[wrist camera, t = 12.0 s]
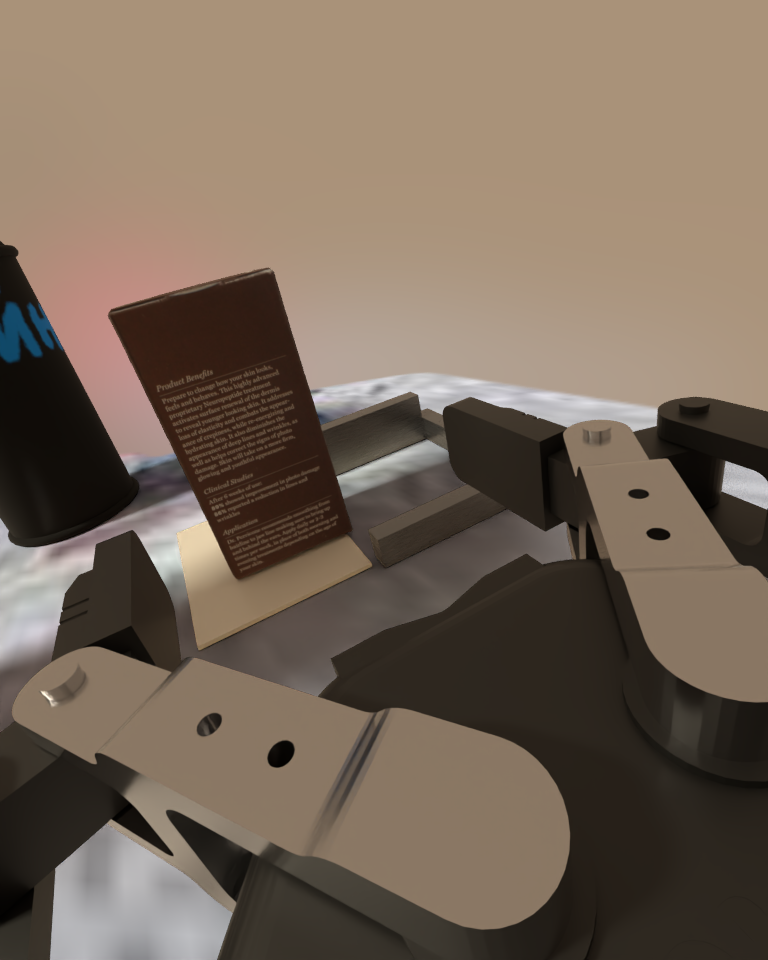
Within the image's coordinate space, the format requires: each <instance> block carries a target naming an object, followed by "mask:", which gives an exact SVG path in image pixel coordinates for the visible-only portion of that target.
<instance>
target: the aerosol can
mask: <svg viewBox="0 0 768 960" xmlns="http://www.w3.org/2000/svg"><path fill="white" fill-rule="evenodd" d="M16 256H18V250H17V249H16V248H15V247H13V246H10V245H4V244H3V243H2V242H1V241H0V518H1V520H2V521H3V523H4V524H5V526H6V527H7V528H8V530H9V533H8V537H9V540H10V541H11V542H12V543H14V544H15V545H18V546H25V547H28V546H39V545H45V544H50V543H53V542H57V541H60V540H63V539H66V538H69V537H72V536H75V535H77V534H79V533H82V532H84V531H86V530H88V529H90V528H92V527H94V526H96V525H98V524H100V523H102V522H104V521H105V520H107V519H109V518H110V517H112V516H113V515H115V514H116V513H118V512H119V511H121V510H122V509H123V508H124V507H125V506H127V505H128V504H129V503H130V502H131V501H132V500H133V499H134V497H135V496H136V494H137V492H138V489H139V484H138V482H137V480H136V479H134V478H133V477H130V475H129V473H128V471H127V469H126V467H125V465H124V464H123V462H122V460H121V458H120V456H119V454H118V452H117V450H116V448H115V446H114V445H113V442H112V441H111V439H110V437H109V435H108V433H107V431H106V429H105V428H104V425H103V424H102V422H101V420H100V418H99V416H98V414H97V412H96V410H95V408H94V406H93V404H92V402H91V401H90V399H89V397H88V395H87V393H86V391H85V389H84V387H83V385H82V383H81V381H80V379H79V378H78V376H77V374H76V372H75V370H74V368H73V366H72V364H71V363H70V360H69V358H68V357H67V355H66V353H65V351H64V349H63V347H62V345H61V343H60V341H59V339H58V337H57V336H56V334H55V332H54V330H53V328H52V326H51V324H50V322H49V320H48V318H47V316H46V315H45V313H44V311H43V309H42V307H41V305H40V303H39V301H38V299H37V297H36V295H35V294H34V292H33V290H32V288H31V286H30V284H29V282H28V280H27V278H26V276H25V274H24V273H23V271H22V269H21V267H20V265H19V263H18V261H17V259H16Z"/></svg>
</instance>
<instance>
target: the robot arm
mask: <svg viewBox="0 0 768 960" xmlns="http://www.w3.org/2000/svg"><path fill="white" fill-rule="evenodd" d="M443 422H444V428H445V434H446V440H447V446H448V452H449V458H450V463H451V466H452V468H453V470H454V472H455V474H456V475H457V477H458V478H459V479H460V480H462V481H463V482H465V483H466V484H468V485H470V486H471V487H473V488H475V489H476V490H478V491H480V492H481V493H483V494H484V495H486V496H488V497H489V498H491V499H493V500H494V501H496V502H498V503H499V504H501V505H502V506H504V507H506V508H507V509H509V510H511V511H512V512H514V513H516V514H517V515H519V516H521V517H522V518H524V519H525V520H527V521H529V522H530V523H532V524H534V525H535V526H537V527H539V528H540V529H542V530H544V531H547V530H549V529H551V528H553V527H555V526H557V525H559V524H561V523H563V522H564V521H565V522H567V537H568V541H569V546H570V550H571V554H572V560H564V561H557V562H552V563H547V564H543V565H542V564H541V563H539V562H538V561H536V560H535V559H534V558H532V557H531V556H529V555H528V554H525V555H523V556H521V557H519V558H518V559H516V560H514V561H512V562H510V563H508V564H506V565H505V566H503V567H501V568H499V569H497V570H495V571H493V572H491V573H490V574H488V575H486V576H484V577H483V578H482V579H480V580H479V581H478V582H477V583H476V584H475V585H474V586H472V587H471V588H470V589H469V590H468V591H467V592H466V593H465V594H463V595H462V596H461V597H460V598H459V599H458V600H457V601H455V602H454V603H453V604H452V605H451V606H450V607H449V608H447V609H446V610H444V611H443V612H440V613H438V614H434V615H431V616H428V617H425V618H422V619H418V620H415V621H412V622H409V623H406V624H402V625H399V626H396V627H393V628H389V629H386V630H384V631H382V632H380V633H378V634H376V635H374V636H372V637H370V638H369V639H367V640H365V641H363V642H361V643H359V644H357V645H356V646H354V647H352V648H350V649H348V650H346V651H344V652H343V653H341V654H339V655H337V656H335V657H333V658H331V661H332V664H333V667H334V669H335V672H336V674H337V678H336V679H335V680H334V681H332V682H331V683H330V684H329V685H328V686H327V687H326V688H325V689H324V690H323V691H322V692H321V694H320V695H319V696H318V697H317V696H314V695H311V694H307V693H304V692H301V691H298V690H295V689H292V688H289V687H286V686H282V685H279V684H276V683H273V682H270V681H267V680H264V679H261V678H258V677H254V676H251V675H248V674H245V673H242V672H239V671H236V670H233V669H230V668H226V667H223V666H220V665H217V664H214V663H211V662H208V661H205V660H201V659H198V658H194V657H188V658H185V659H184V660H183V661H182V662H181V655H180V648H179V640H178V633H177V626H176V618H175V611H174V606H173V603H172V600H171V597H170V595H169V592H168V590H167V588H166V586H165V584H164V582H163V580H162V579H161V577H160V575H159V573H158V571H157V570H156V568H155V566H154V564H153V562H152V560H151V559H150V557H149V555H148V553H147V551H146V550H145V548H144V546H143V544H142V542H141V541H140V539H139V537H138V536H137V534H136V533H135V532H134V531H133V530H131V531H128V532H126V533H123V534H121V535H118V536H116V537H113V538H111V539H108V540H106V541H103V542H101V543H98V544H96V548H95V556H94V564H93V570H90V571H88V572H86V573H83V574H81V575H79V576H78V577H77V578H76V580H75V581H74V582H73V584H72V585H71V586H70V588H69V589H68V590H67V592H66V593H65V597H64V602H63V607H62V610H63V612H61V617H60V622H59V623H60V625H59V626H58V631H57V636H56V641H55V646H54V651H53V656H52V661H51V663H50V664H48V665H47V666H46V667H44V668H43V669H42V670H40V671H39V672H38V673H37V674H36V675H35V676H33V677H32V678H31V679H30V680H29V681H28V682H27V684H26V685H25V686H24V687H23V688H22V690H21V691H20V692H19V694H18V696H17V697H16V699H15V701H14V704H13V708H12V716H13V718H14V720H15V722H13V723H12V724H11V725H10V726H9V727H7V728H6V729H5V730H3V731H2V732H0V960H50V948H51V931H52V915H53V899H54V883H55V868H56V867H57V866H58V865H59V864H61V863H62V862H63V861H64V860H65V859H66V858H67V857H69V856H70V855H71V854H72V853H73V852H74V851H75V850H77V849H78V848H79V847H80V846H81V845H82V844H83V843H85V842H86V841H87V840H88V839H89V838H90V837H91V836H93V835H94V834H95V833H96V832H97V831H98V830H99V829H101V828H102V827H103V826H104V825H105V824H106V823H107V824H108V825H110V826H111V827H112V828H114V829H116V830H117V831H119V832H120V833H122V834H123V835H125V836H127V837H128V838H130V839H131V840H133V841H134V842H136V843H138V844H139V845H141V846H142V847H144V848H145V849H147V850H149V851H150V852H152V853H153V854H155V855H156V856H158V857H159V858H161V859H163V860H164V861H166V862H167V863H169V864H170V865H172V866H174V867H175V868H177V869H178V870H180V871H181V872H183V873H184V874H186V875H187V876H188V877H189V878H191V879H192V880H193V881H194V882H195V883H197V884H198V885H199V886H200V887H201V888H202V889H203V890H204V891H205V892H206V893H207V894H209V895H210V896H211V897H212V898H213V899H215V900H216V901H217V902H218V903H220V904H221V905H222V906H224V907H225V908H226V909H228V910H229V911H231V912H232V913H233V914H232V917H231V920H230V923H229V926H228V929H227V932H226V935H225V938H224V941H223V944H222V947H221V950H220V953H219V956H218V959H217V960H768V581H767V580H766V579H765V577H766V578H768V510H766V509H764V508H761V507H759V506H756V505H754V504H751V503H749V502H746V501H744V500H741V499H739V498H736V497H734V496H731V495H729V494H726V493H724V492H721V490H722V483H723V475H724V468H725V461H728V462H731V463H734V464H737V465H740V466H743V467H746V468H749V469H751V470H754V471H757V472H758V473H760V474H761V475H763V476H764V477H765V478H766V480H767V481H768V412H767V411H763V410H759V409H754V408H750V407H746V406H742V405H737V404H733V403H729V402H725V401H721V400H716V399H711V398H702V397H689V398H680V399H675V400H671V401H668V402H666V403H664V404H662V405H661V406H660V407H659V408H658V415H657V426H655V427H651V428H647V429H643V430H639V431H635V432H632V430H631V429H630V427H628V426H627V425H625V424H623V423H620V422H616V421H610V420H591V421H585V422H580V423H577V424H574V425H572V426H570V427H568V428H567V427H564V426H561V425H558V424H555V423H553V422H550V421H547V420H544V419H541V418H538V419H537V417H535V416H532V415H529V414H527V415H526V414H525V413H523V412H520V411H517V410H514V409H512V408H502V407H498V406H495V405H492V404H489V403H486V402H484V401H481V400H478V399H475V398H472V397H469V398H466V399H464V400H461V401H459V402H456V403H454V404H451V405H449V406H446V407H445V408H444V410H443ZM740 564H741V565H740ZM742 565H743V566H742Z"/></svg>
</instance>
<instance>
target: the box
mask: <svg viewBox="0 0 768 960" xmlns="http://www.w3.org/2000/svg"><path fill="white" fill-rule="evenodd" d="M108 317H109V319H110V321H111V323H112V325H113V327H114V329H115V331H116V333H117V335H118V337H119V338H120V341H121V343H122V345H123V347H124V349H125V351H126V353H127V355H128V358H129V360H130V362H131V363H132V365H133V367H134V370H135V372H136V374H137V376H138V378H139V380H140V382H141V384H142V386H143V388H144V390H145V393H146V395H147V397H148V399H149V401H150V403H151V405H152V407H153V409H154V411H155V413H156V415H157V417H158V419H159V421H160V423H161V425H162V428H163V430H164V432H165V434H166V436H167V438H168V439H169V441H170V443H171V446H172V448H173V450H174V453H175V454H176V456H177V458H178V461H179V463H180V465H181V466H182V468H183V471H184V473H185V475H186V477H187V479H188V481H189V483H190V485H191V487H192V490H193V492H194V494H195V496H196V498H197V500H198V502H199V504H200V506H201V509H202V511H203V513H204V515H205V517H206V519H207V521H208V524H209V526H210V528H211V530H212V532H213V534H214V536H215V538H216V541H217V542H218V545H219V547H220V549H221V552H222V554H223V556H224V558H225V560H226V562H227V564H228V566H229V568H230V570H231V572H232V574H233V576H234V577H235V578H236V579H237V580H239V579H241V578H244V577H246V576H248V575H250V574H252V573H254V572H257V571H259V570H261V569H263V568H266V567H268V566H270V565H273V564H275V563H277V562H280V561H282V560H284V559H287V558H289V557H291V556H293V555H295V554H298V553H300V552H303V551H305V550H307V549H310V548H312V547H314V546H316V545H319V544H321V543H323V542H326V541H328V540H330V539H333V538H335V537H338V536H340V535H343V534H345V533H348V532H351V531H352V530H353V528H352V526H351V522H350V519H349V516H348V513H347V510H346V506H345V503H344V499H343V496H342V493H341V489H340V487H339V484H338V480H337V477H336V474H335V470H334V467H333V464H332V460H331V457H330V454H329V451H328V447H327V444H326V441H325V438H324V434H323V431H322V428H321V425H320V421H319V418H318V415H317V412H316V409H315V405H314V402H313V399H312V395H311V392H310V389H309V386H308V383H307V380H306V376H305V374H304V371H303V367H302V364H301V361H300V357H299V354H298V351H297V348H296V344H295V341H294V338H293V335H292V331H291V328H290V325H289V322H288V317H287V315H286V312H285V309H284V305H283V301H282V298H281V295H280V291H279V288H278V284H277V282H276V278H275V274H274V272H273V270H271V269H270V268H264V269H258V270H253V271H249V272H246V273H241V274H237V275H234V276H229V277H225V278H221V279H218V280H214V281H210V282H206V283H202V284H199V285H195V286H191V287H187V288H184V289H180V290H176V291H173V292H169V293H165V294H162V295H158V296H155V297H152V298H148V299H144V300H140V301H137V302H133V303H130V304H127V305H123V306H120V307H116V308H114V309H111V311H110V312H109V314H108Z"/></svg>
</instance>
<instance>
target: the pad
mask: <svg viewBox="0 0 768 960" xmlns="http://www.w3.org/2000/svg"><path fill="white" fill-rule="evenodd" d="M177 539H178V544H179V550H180V555H181V561H182V566H183V572H184V577H185V583H186V588H187V594H188V599H189V605H190V610H191V616H192V621H193V627H194V632H195V638H196V643H197V647H198V649H199V650H201V649H203V648H205V647H207V646H210V645H212V644H214V643H216V642H218V641H220V640H222V639H224V638H226V637H228V636H230V635H232V634H234V633H236V632H238V631H240V630H242V629H245V628H247V627H249V626H251V625H253V624H255V623H257V622H259V621H261V620H263V619H265V618H267V617H269V616H271V615H273V614H275V613H277V612H280V611H282V610H284V609H286V608H288V607H290V606H292V605H294V604H296V603H298V602H300V601H302V600H304V599H306V598H308V597H310V596H312V595H315V594H317V593H319V592H321V591H323V590H325V589H327V588H329V587H331V586H333V585H335V584H337V583H339V582H341V581H343V580H345V579H347V578H350V577H352V576H354V575H356V574H358V573H360V572H362V571H364V570H366V569H368V568H370V567H372V563H371V562H370V561H369V559H368V558H367V557H366V556H365V555H364V554H363V552H362V551H361V550H360V549H359V548H358V546H357V545H356V544H355V543H354V542H353V541H352V539H351V538H350V537H349V536H348V535H347V533H345V534H343V535H340V536H338V537H335V538H333V539H330V540H328V541H326V542H323V543H321V544H319V545H316V546H314V547H312V548H310V549H307V550H305V551H303V552H300V553H298V554H295V555H293V556H291V557H289V558H287V559H284V560H282V561H280V562H277V563H275V564H273V565H270V566H268V567H266V568H263V569H261V570H259V571H257V572H254V573H252V574H250V575H248V576H246V577H244V578H241V579H239V580H237V579H236V578H235V577H234V576H233V574H232V572H231V570H230V568H229V566H228V564H227V562H226V560H225V558H224V556H223V554H222V552H221V549H220V547H219V545H218V542H217V541H216V538H215V536H214V534H213V532H212V530H211V528H210V526H209V524H208V521H206V522H203V523H201V524H198V525H196V526H193V527H191V528H188V529H186V530H183V531H181V532H178V533H177Z"/></svg>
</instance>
